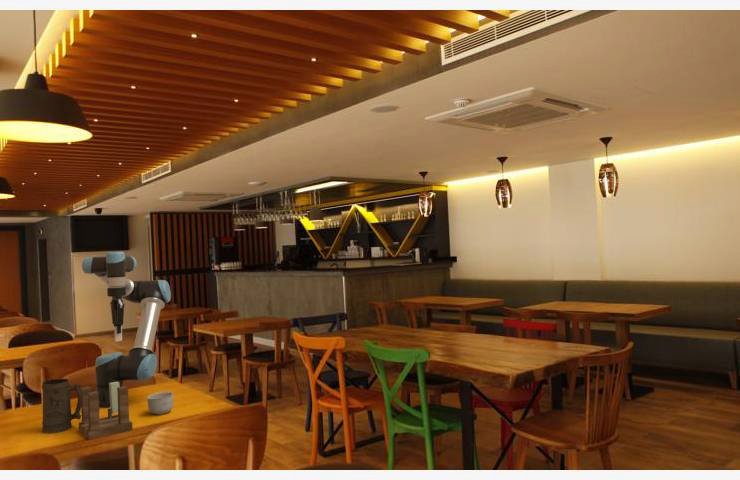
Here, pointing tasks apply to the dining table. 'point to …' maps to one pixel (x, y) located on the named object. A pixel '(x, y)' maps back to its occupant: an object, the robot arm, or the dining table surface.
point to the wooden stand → (106, 425)
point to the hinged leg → (113, 396)
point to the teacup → (160, 402)
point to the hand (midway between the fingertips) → (118, 340)
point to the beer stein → (59, 405)
